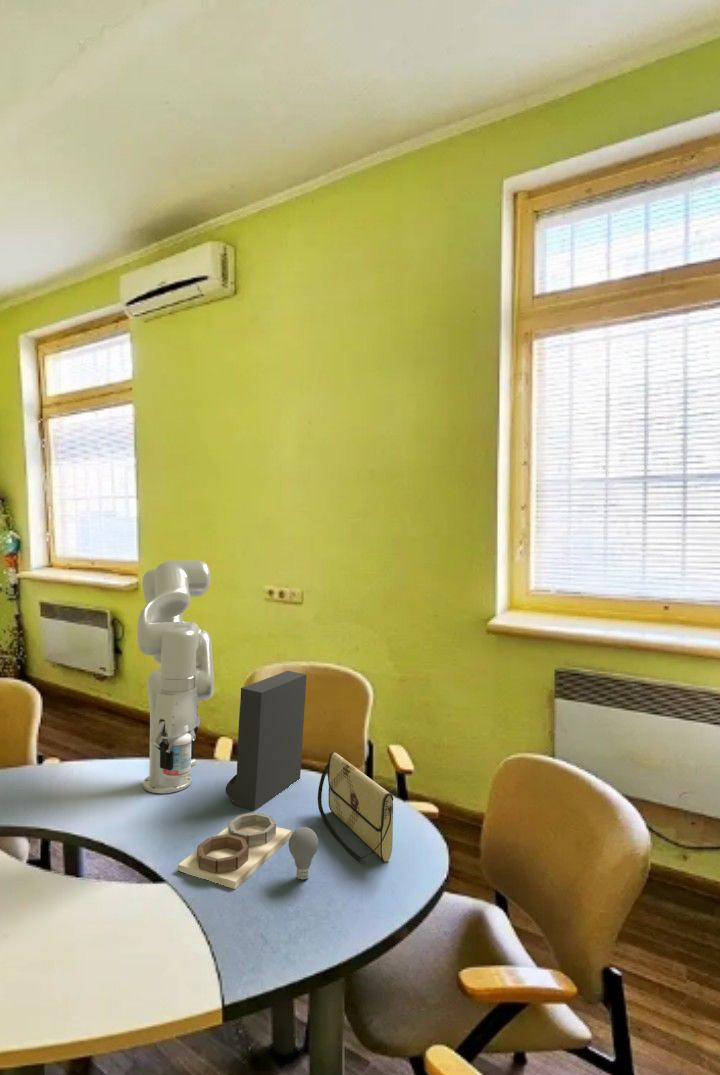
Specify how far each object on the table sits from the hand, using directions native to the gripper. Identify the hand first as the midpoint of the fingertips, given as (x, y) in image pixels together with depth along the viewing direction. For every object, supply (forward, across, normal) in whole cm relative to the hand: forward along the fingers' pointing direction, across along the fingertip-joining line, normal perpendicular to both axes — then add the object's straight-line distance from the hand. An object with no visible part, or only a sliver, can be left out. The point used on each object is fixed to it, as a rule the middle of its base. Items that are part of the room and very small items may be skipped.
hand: (177, 762), depth 136 cm
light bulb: (+17, +1, +33) cm, 37 cm away
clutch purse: (+18, -18, +35) cm, 43 cm away
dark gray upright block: (+18, -30, +5) cm, 35 cm away
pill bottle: (+3, 0, 0) cm, 3 cm away
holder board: (+17, -1, +16) cm, 24 cm away
